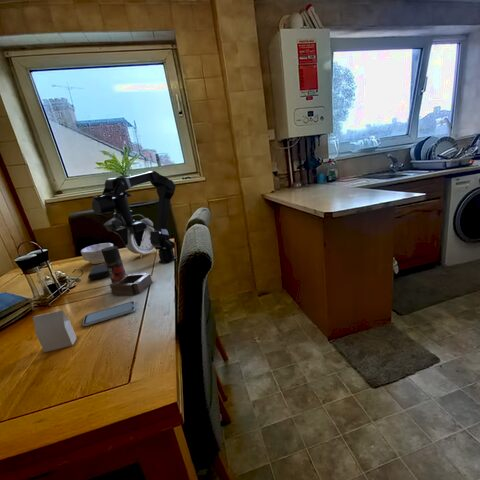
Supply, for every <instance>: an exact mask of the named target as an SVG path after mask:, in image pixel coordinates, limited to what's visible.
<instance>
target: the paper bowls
mask: <svg viewBox="0 0 480 480" xmlns="http://www.w3.org/2000/svg"><path fill="white" fill-rule="evenodd" d="M111 246H114V243H111V242H103V243H97V244H92V245H89V246H86V247H84V248H82V249H81V250H80V254H81V256H82V259H83V261H86V262H89V263H90V264H91V265H100V264H105V260H104V257H103V254H102V251H101V250H102V249H104V248H106V247H111Z"/></svg>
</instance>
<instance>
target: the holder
mask: <svg viewBox="0 0 480 480" xmlns="http://www.w3.org/2000/svg"><path fill="white" fill-rule="evenodd" d="M152 279H153V278H152V276H151V273H148V272H141V273H140V272H137V273H129V274H126V275H124V276H122V277H121V278H119V279H118V280H116V281H115V282H113V283H112V282H111V283H110V284H109V287H110V291H111V295H114V296H117V297H118V296H134V295H135V294H137V295H138V294H141V293H143V292H144V291H145V290H146V289H147V288H148V287H150V286H151V284H153V280H152Z"/></svg>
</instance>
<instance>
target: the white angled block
mask: <svg viewBox="0 0 480 480" xmlns="http://www.w3.org/2000/svg"><path fill="white" fill-rule="evenodd" d="M32 320H33V325H34V332H35V335H36V337H37V339H38V341H39V344H40V347H41V348H42V350H43V352H44V353H49V352H51V351H56V350H60V349H64V348H67V347H71V346H74V344H75V342H76V341H77V338H78V337H77V335H76V333H75V330H74V328H73V324H72V323H71V320H70V319H69V317H68V316H67V315H66V314H65V312H64V311H63V309H60V310H55V311H52V312H47V313H42V314H38V315H33V316H32Z"/></svg>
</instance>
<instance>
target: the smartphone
mask: <svg viewBox="0 0 480 480" xmlns="http://www.w3.org/2000/svg"><path fill="white" fill-rule="evenodd" d="M135 311H136V303H135V301H129V302H125V303H121V304H118V305H114V306H111V307H108V308H105V309H101V310H97V311H93V312H90V313H87V314H85V315H84V318H83V321H82V326H83V327H88V326H92V325H94V324H98V323H100V322H105V321H107V320H111V319H115V318H117V317H120V316H123V315H126V314H130V313H133V312H135Z"/></svg>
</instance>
